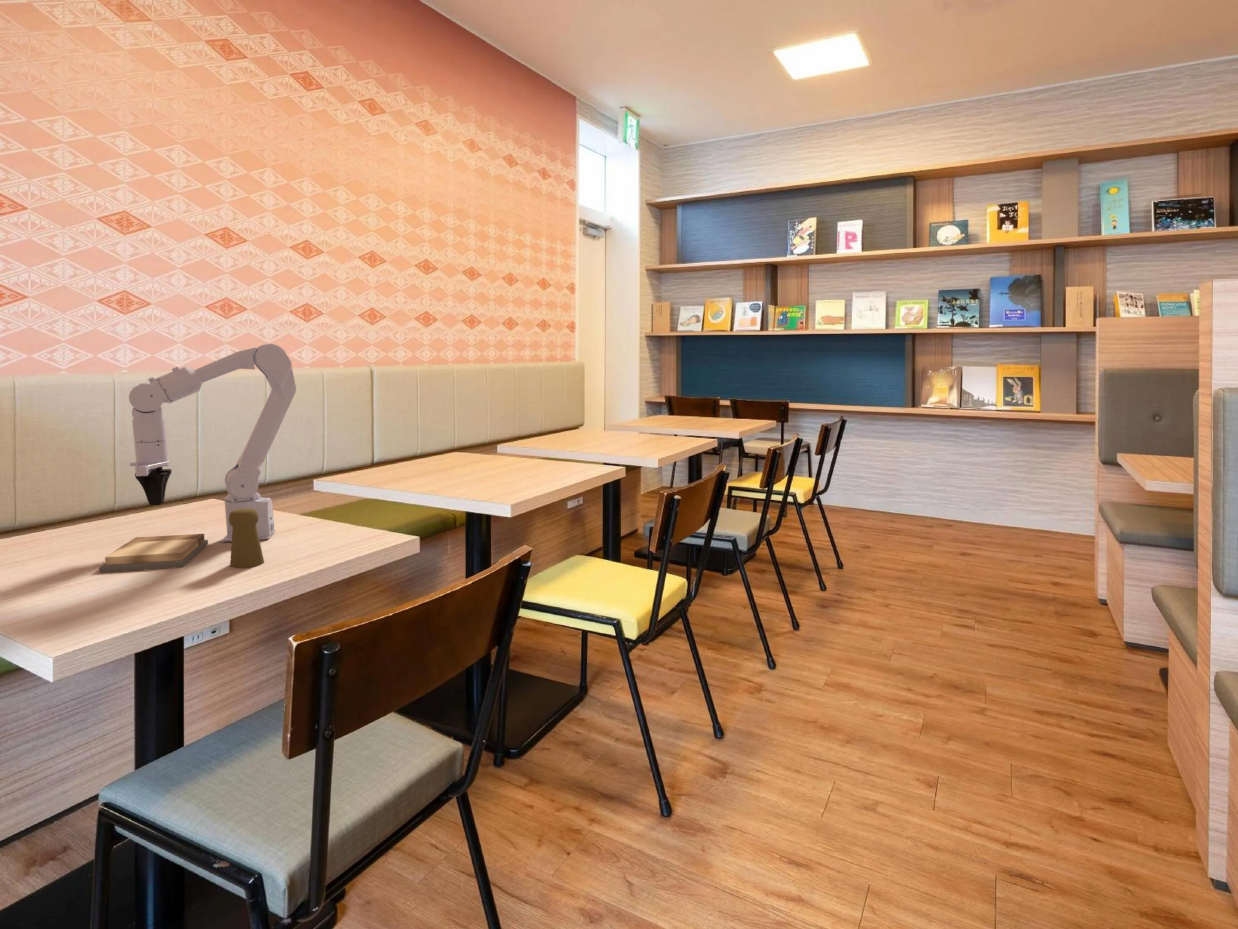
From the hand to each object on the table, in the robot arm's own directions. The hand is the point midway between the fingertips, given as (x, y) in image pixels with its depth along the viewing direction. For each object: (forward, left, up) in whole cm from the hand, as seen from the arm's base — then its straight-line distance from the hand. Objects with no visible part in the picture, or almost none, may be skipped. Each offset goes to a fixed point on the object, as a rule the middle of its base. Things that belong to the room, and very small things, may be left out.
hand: (156, 504), depth 154 cm
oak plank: (-2, +11, -8) cm, 14 cm away
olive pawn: (-21, +19, -9) cm, 30 cm away
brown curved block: (-2, +3, -9) cm, 10 cm away
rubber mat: (-2, +10, -9) cm, 13 cm away
